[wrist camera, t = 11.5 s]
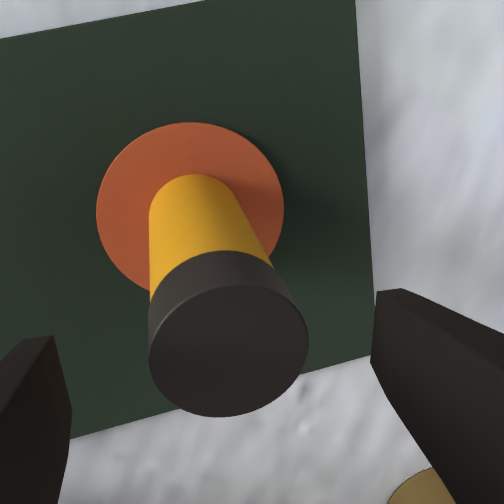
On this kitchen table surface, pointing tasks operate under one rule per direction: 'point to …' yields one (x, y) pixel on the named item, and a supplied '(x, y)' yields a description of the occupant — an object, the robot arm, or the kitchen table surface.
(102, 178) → the mat
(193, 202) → the glue stick
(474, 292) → the kitchen table surface
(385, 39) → the kitchen table surface
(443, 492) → the olive pawn
